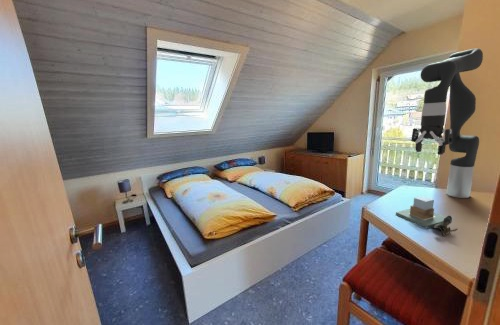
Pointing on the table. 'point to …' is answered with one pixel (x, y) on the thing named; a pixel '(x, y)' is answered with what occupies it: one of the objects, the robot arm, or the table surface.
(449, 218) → the eagle figurine
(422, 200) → the blue-grey brick
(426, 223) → the board
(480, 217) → the table surface
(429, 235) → the table surface
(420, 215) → the walnut brick
